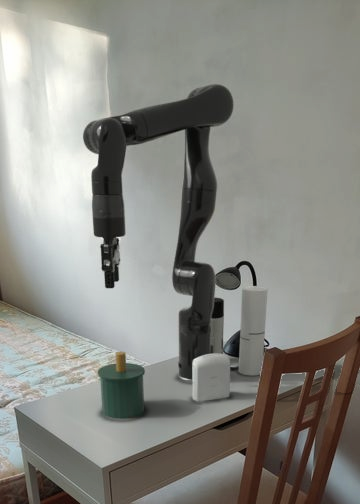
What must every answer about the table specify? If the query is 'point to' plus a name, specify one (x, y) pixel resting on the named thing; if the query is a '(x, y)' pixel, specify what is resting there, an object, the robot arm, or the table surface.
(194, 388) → the photo printer
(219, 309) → the spray can
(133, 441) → the table surface
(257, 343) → the cylindrical container
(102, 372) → the lid
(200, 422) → the table surface
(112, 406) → the tin
